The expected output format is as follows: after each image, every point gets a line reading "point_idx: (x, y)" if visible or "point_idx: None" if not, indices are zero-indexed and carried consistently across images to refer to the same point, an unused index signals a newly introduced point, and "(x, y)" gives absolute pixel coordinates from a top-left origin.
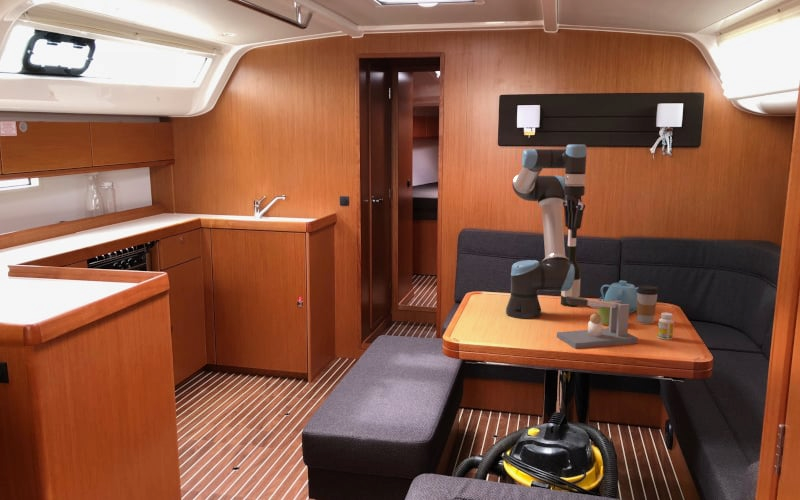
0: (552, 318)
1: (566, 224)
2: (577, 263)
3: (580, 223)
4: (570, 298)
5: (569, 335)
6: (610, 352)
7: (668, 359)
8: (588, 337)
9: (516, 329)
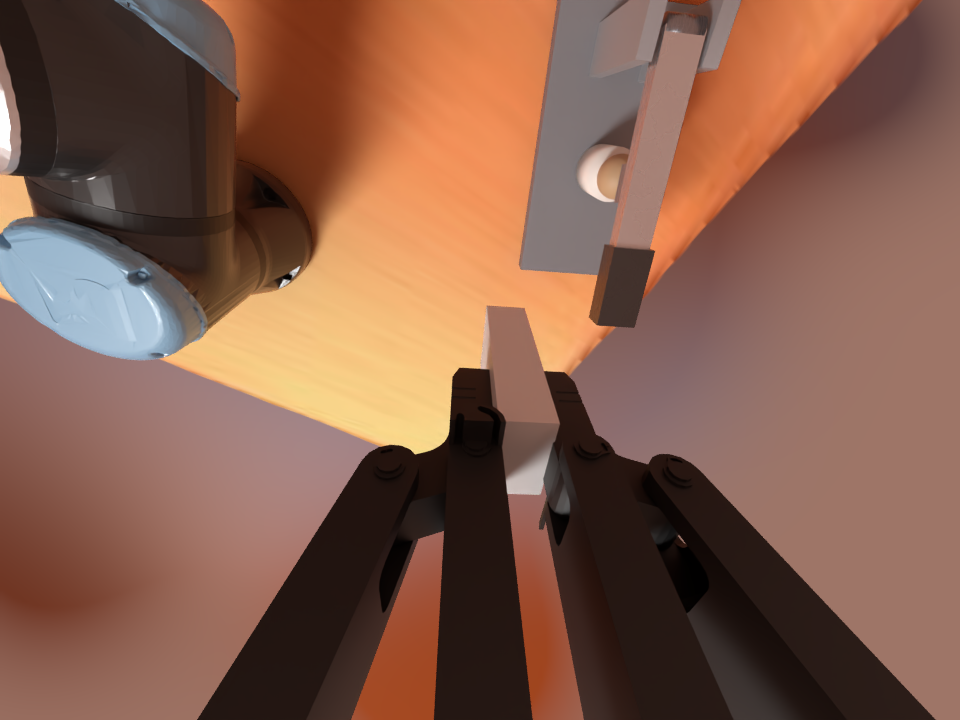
0: (315, 151)
1: (410, 547)
2: None
3: (759, 551)
4: (627, 326)
5: (562, 251)
6: (700, 195)
7: (870, 41)
8: (605, 206)
9: (417, 328)
